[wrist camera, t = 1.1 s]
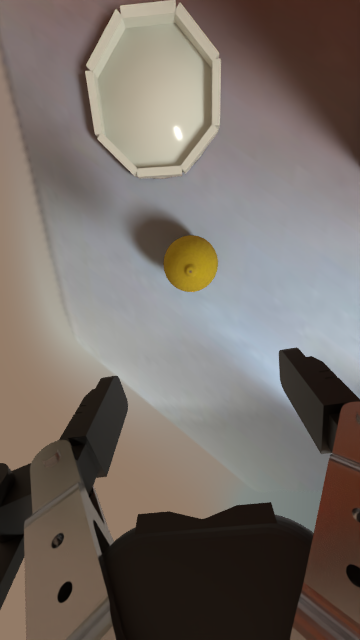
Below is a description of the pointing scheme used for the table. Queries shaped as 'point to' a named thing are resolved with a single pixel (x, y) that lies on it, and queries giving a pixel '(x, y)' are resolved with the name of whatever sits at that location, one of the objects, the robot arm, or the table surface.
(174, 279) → the lemon
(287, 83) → the table surface
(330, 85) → the table surface
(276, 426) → the table surface
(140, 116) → the dish
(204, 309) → the table surface
